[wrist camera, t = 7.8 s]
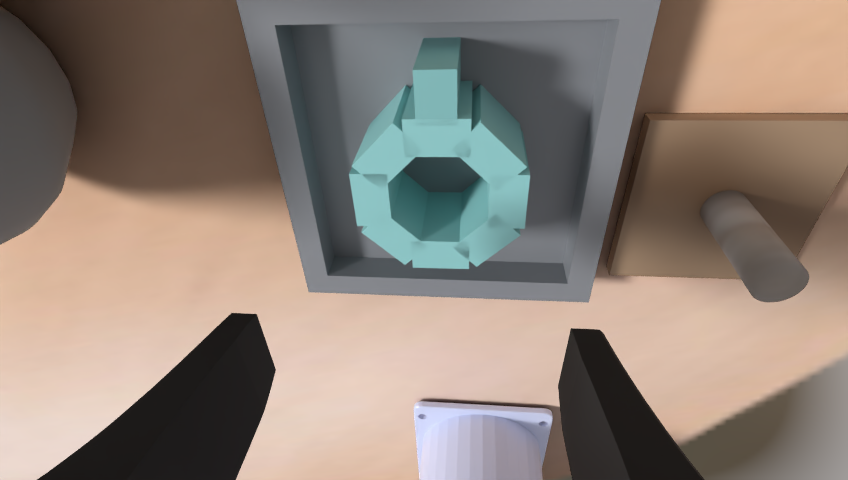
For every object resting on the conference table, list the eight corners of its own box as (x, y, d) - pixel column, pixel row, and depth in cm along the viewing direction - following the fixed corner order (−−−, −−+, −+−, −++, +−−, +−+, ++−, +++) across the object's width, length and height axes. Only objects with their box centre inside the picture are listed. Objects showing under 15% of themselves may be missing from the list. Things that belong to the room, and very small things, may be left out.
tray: (581, 273, 21) (588, 302, 20) (319, 265, 22) (308, 291, 21) (647, -33, 14) (666, -23, 13) (256, -22, 15) (233, -12, 14)
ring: (514, 218, 19) (520, 270, 17) (378, 216, 20) (363, 266, 17) (530, 35, 15) (541, 68, 13) (356, 39, 16) (332, 71, 13)
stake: (776, 271, 20) (845, 362, 16) (606, 265, 21) (634, 352, 17) (861, 113, 16) (980, 187, 12) (645, 113, 17) (694, 183, 13)
